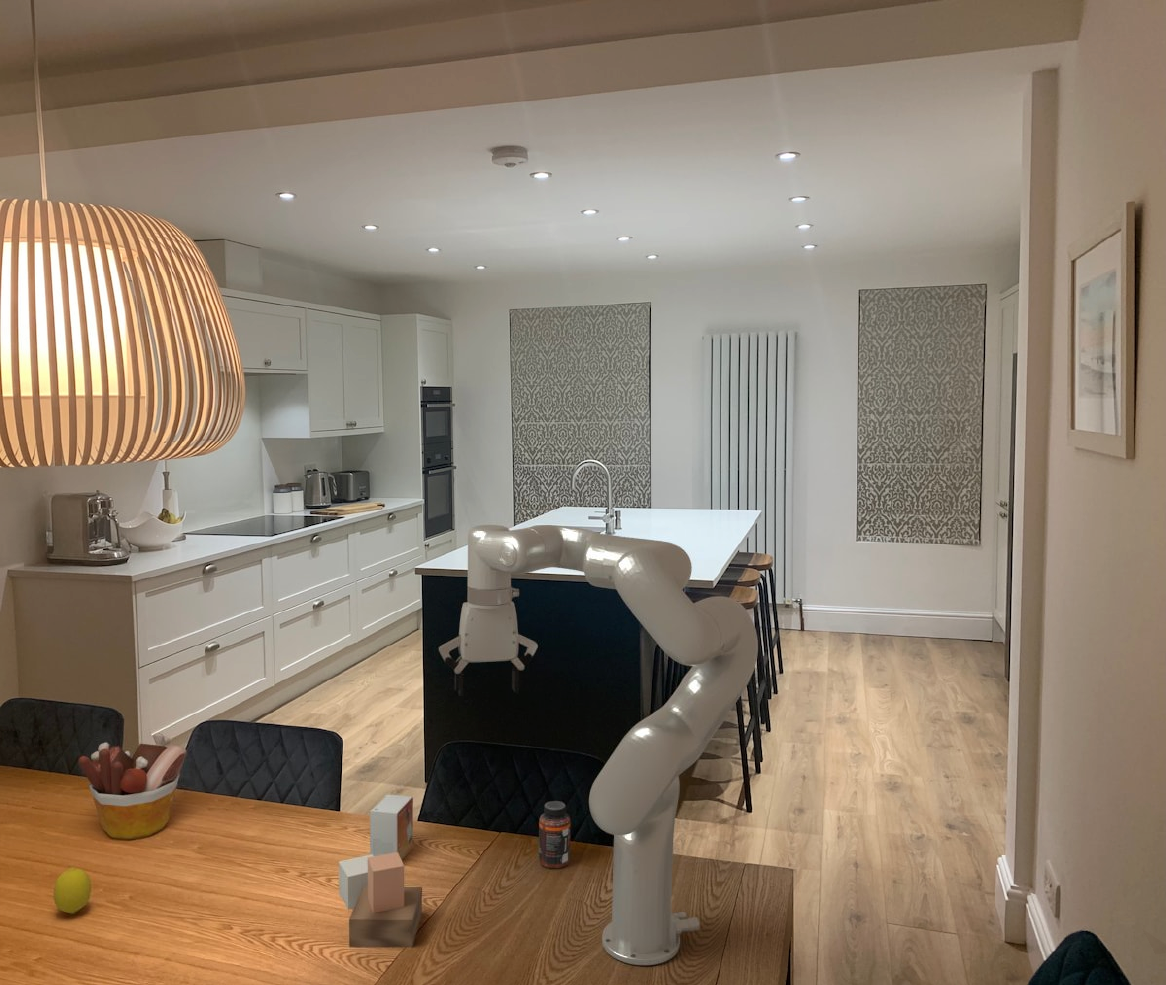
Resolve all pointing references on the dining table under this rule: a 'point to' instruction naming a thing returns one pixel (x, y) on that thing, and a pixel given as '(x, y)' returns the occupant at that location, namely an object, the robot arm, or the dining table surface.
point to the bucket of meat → (134, 786)
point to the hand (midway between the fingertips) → (488, 691)
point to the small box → (392, 826)
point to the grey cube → (352, 879)
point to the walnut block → (385, 922)
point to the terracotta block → (385, 882)
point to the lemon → (72, 890)
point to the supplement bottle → (554, 836)
